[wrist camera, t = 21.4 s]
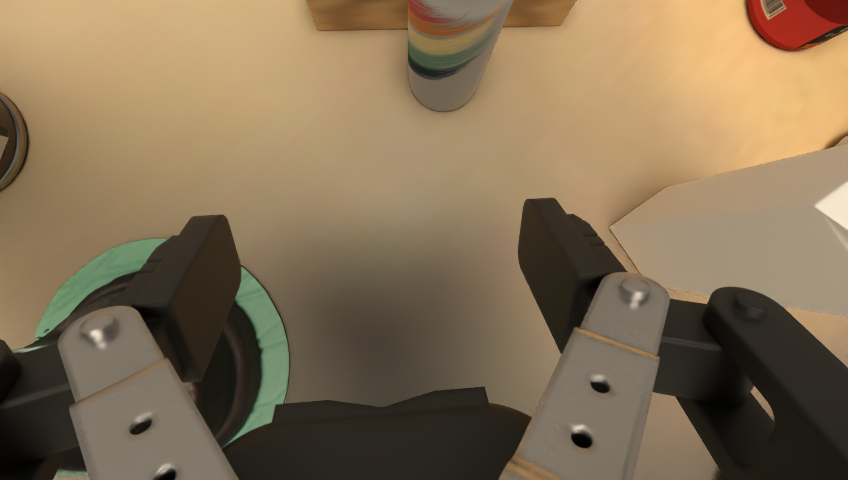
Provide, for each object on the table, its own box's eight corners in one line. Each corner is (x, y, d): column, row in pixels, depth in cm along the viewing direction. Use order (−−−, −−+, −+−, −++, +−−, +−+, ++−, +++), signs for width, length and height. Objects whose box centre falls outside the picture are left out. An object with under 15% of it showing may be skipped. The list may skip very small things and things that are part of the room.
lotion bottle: (449, 30, 37) (496, -227, 17) (491, 86, 37) (587, -107, 17) (394, 71, 37) (376, -141, 17) (436, 127, 37) (468, -19, 17)
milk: (705, 245, 37) (1139, 243, 15) (647, 287, 37) (1003, 346, 15) (664, 185, 37) (1040, 96, 15) (605, 226, 37) (901, 197, 15)
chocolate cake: (31, 523, 34) (-4, 264, 35) (279, 437, 44) (247, 235, 44) (-48, 656, 21) (-101, 241, 22) (328, 492, 31) (282, 207, 32)
